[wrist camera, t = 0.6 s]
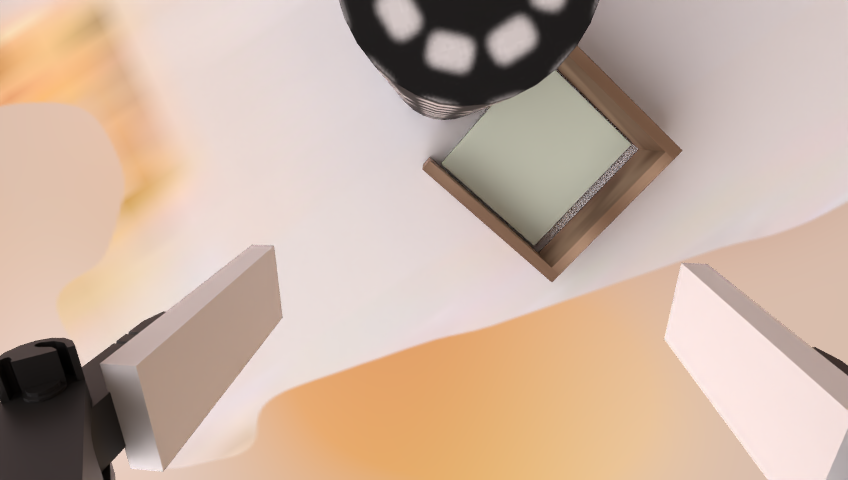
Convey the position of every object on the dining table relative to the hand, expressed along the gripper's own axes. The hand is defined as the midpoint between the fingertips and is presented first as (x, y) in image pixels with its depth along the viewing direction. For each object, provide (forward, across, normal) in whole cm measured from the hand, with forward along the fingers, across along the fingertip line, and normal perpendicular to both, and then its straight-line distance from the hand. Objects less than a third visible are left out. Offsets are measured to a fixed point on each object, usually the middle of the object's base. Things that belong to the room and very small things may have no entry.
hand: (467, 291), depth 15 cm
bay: (+22, +5, +1) cm, 23 cm away
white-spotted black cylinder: (+22, -2, +8) cm, 24 cm away
